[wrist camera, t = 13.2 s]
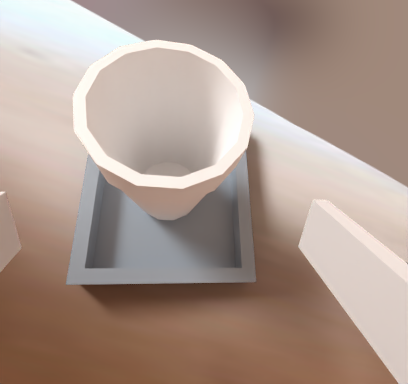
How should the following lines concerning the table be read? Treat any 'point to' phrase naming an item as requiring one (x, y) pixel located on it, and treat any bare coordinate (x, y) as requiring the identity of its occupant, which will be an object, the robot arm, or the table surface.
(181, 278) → the tray
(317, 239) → the robot arm
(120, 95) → the foam cup
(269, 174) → the table surface
